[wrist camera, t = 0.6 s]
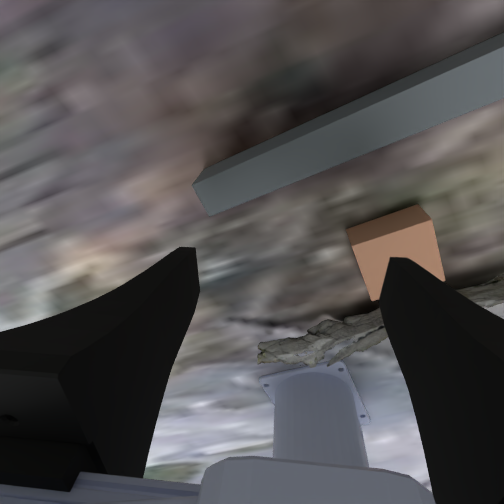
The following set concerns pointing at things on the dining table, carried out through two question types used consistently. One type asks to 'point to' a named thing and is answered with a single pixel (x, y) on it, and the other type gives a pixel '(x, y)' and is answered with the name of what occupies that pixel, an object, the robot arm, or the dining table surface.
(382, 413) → the dining table surface
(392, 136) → the slate curb
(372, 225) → the tile
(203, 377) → the dining table surface
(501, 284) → the driftwood
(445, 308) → the robot arm
